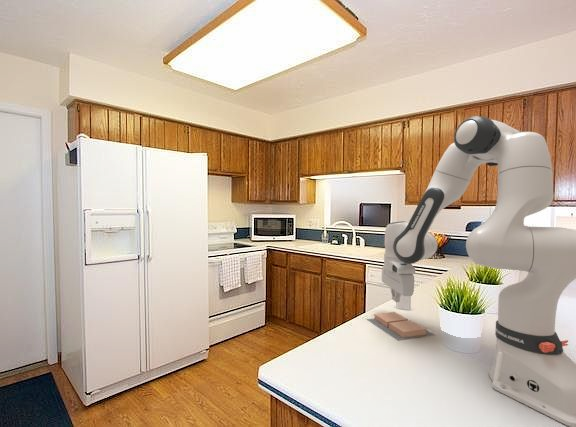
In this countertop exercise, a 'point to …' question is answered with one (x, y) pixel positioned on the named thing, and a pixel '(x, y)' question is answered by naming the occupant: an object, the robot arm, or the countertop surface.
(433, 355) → the countertop surface
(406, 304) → the eye dropper bottle
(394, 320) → the tile
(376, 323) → the mat
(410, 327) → the tile
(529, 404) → the robot arm
